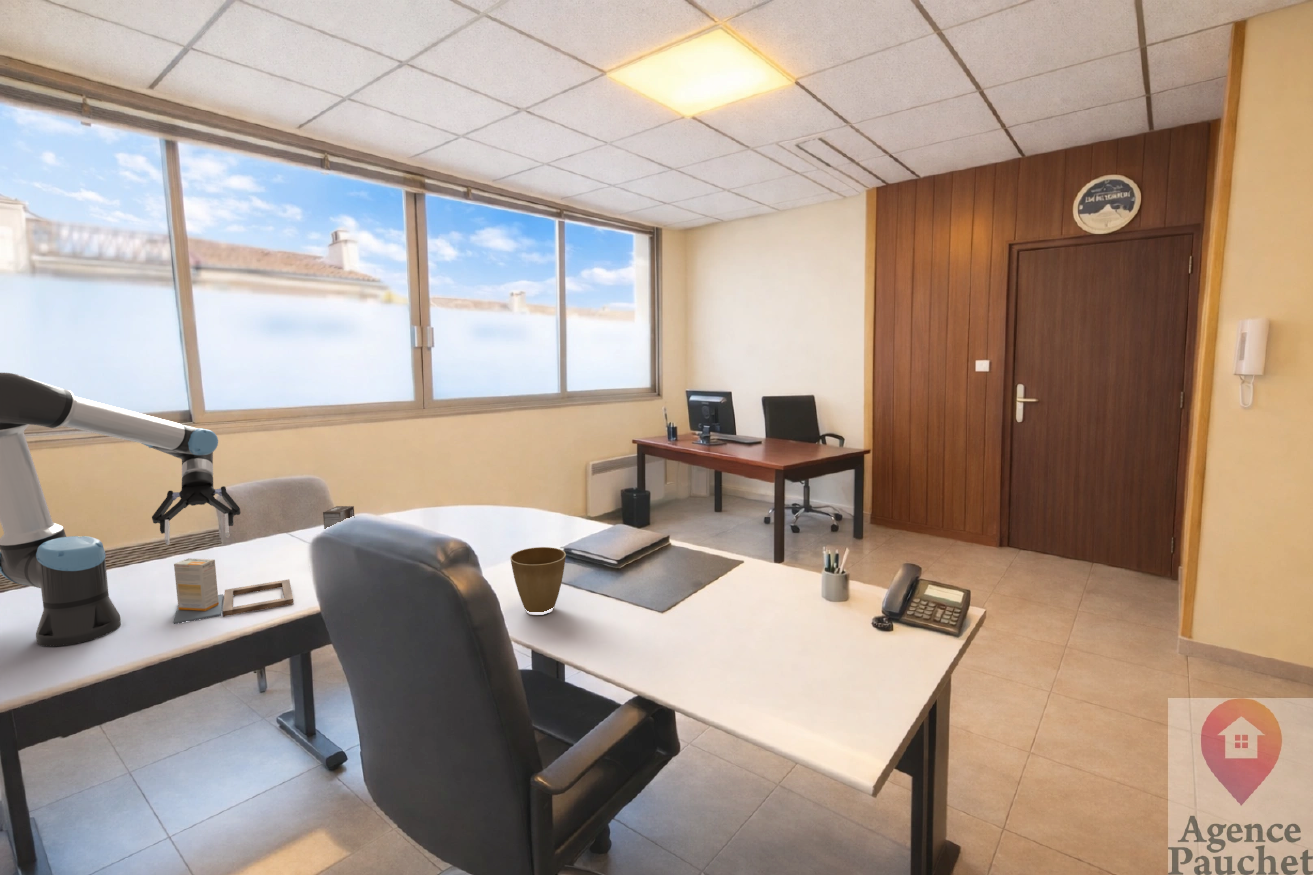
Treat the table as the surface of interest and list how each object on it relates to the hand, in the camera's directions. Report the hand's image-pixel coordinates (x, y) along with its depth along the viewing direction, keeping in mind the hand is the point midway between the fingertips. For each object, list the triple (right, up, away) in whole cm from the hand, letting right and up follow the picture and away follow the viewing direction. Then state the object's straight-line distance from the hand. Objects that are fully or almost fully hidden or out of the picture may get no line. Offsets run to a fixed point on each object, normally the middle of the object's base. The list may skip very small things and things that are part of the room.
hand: (197, 538), depth 169 cm
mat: (+5, -18, -6) cm, 20 cm away
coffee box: (+18, -13, +44) cm, 49 cm away
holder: (+16, -18, +2) cm, 24 cm away
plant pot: (+97, -20, -3) cm, 99 cm away
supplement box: (+5, -18, -6) cm, 20 cm away
